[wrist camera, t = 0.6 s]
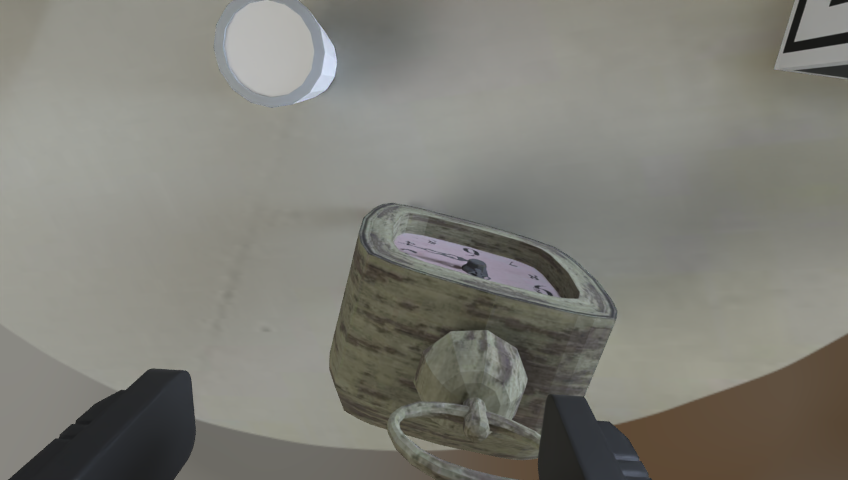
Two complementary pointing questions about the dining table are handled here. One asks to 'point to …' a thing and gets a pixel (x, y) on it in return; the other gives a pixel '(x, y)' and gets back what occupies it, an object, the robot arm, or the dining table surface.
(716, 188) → the dining table surface
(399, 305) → the tabletop clock
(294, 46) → the shot glass
